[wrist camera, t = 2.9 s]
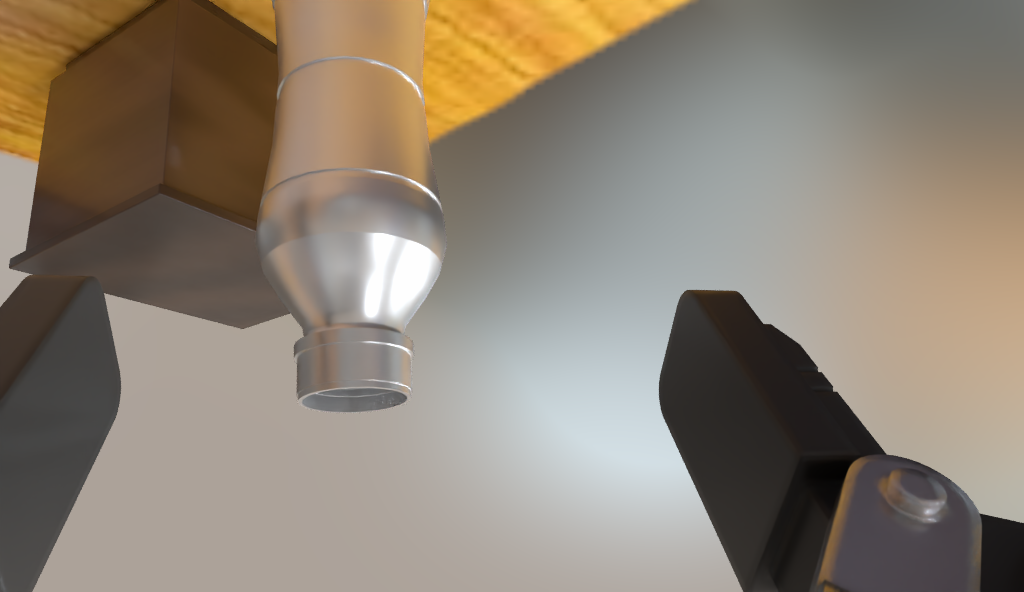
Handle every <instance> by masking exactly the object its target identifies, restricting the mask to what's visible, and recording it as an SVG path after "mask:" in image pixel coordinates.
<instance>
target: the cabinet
mask: <svg viewBox="0 0 1024 592" xmlns="http://www.w3.org/2000/svg"><path fill="white" fill-rule="evenodd" d="M278 78H279V68H278V53H277V46H276V45H275V44H273V43H272V42H270V41H269V40H267V39H266V38H264V37H263V36H261V35H260V34H258V33H257V32H255V31H254V30H252V29H251V28H249V27H248V26H246V25H245V24H243V23H242V22H240V21H239V20H237V19H236V18H234V17H232V16H231V15H229V14H228V13H226V12H225V11H223V10H222V9H220V8H219V7H217V6H216V5H214V4H213V3H211V2H210V1H208V0H160V1H158V2H157V3H155V4H154V5H152V6H151V7H150V8H148V9H147V10H145V11H144V12H142V13H141V14H139V15H138V16H137V17H135V18H134V19H132V20H131V21H129V22H128V23H126V24H125V25H124V26H122V27H121V28H119V29H118V30H116V31H115V32H113V33H112V34H111V35H109V36H108V37H106V38H105V39H103V40H102V41H100V42H99V43H98V44H96V45H95V46H93V47H92V48H90V49H89V50H87V51H86V52H85V53H83V54H82V55H80V56H79V57H77V58H76V59H74V60H73V61H71V62H70V63H69V64H67V65H66V71H65V72H64V73H62V74H61V75H59V76H58V77H56V78H55V79H53V80H52V81H51V85H50V91H49V98H48V105H47V111H46V118H45V125H44V131H43V138H42V145H41V151H40V158H39V165H38V172H37V178H36V185H35V192H34V198H33V205H32V211H31V218H30V225H29V231H28V238H27V245H26V251H24V252H23V253H20V254H18V255H16V256H15V257H13V258H11V259H10V264H9V268H10V269H14V270H18V271H21V272H25V273H29V274H33V275H59V276H93V277H95V278H97V279H98V281H99V282H100V284H101V286H102V289H103V292H104V293H106V294H110V295H114V296H118V297H122V298H126V299H129V300H133V301H137V302H141V303H145V304H148V305H153V306H156V307H160V308H164V309H168V310H172V311H176V312H179V313H183V314H187V315H191V316H195V317H198V318H202V319H206V320H210V321H214V322H218V323H222V324H225V325H229V326H234V327H237V328H241V329H244V328H247V327H250V326H253V325H257V324H259V323H263V322H265V321H269V320H271V319H275V318H278V317H281V316H284V315H287V314H290V312H289V310H288V309H287V308H286V307H285V305H284V304H283V303H282V301H281V300H280V299H279V297H278V296H277V294H276V292H275V291H274V289H273V288H272V286H271V284H270V283H269V281H268V280H267V278H266V276H265V275H264V273H263V269H262V266H261V262H260V258H259V255H258V251H257V247H256V243H255V236H256V228H257V218H258V213H259V209H260V204H261V199H262V194H263V189H264V184H265V179H266V174H267V169H268V164H269V159H270V154H271V149H272V144H273V132H274V121H275V110H276V104H277V88H278Z"/></svg>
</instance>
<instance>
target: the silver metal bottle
mask: <svg viewBox="0 0 1024 592" xmlns="http://www.w3.org/2000/svg"><path fill="white" fill-rule="evenodd" d="M429 2H430V0H272V4H273V8H274V10H275V23H276V38H277V53H278V68H279V78H278V88H277V104H276V110H275V121H274V132H273V144H272V149H271V154H270V159H269V164H268V169H267V174H266V179H265V184H264V189H263V194H262V199H261V204H260V209H259V213H258V218H257V228H256V236H255V243H256V247H257V251H258V255H259V258H260V262H261V266H262V269H263V273H264V275H265V276H266V278H267V280H268V281H269V283H270V284H271V286H272V288H273V289H274V291H275V292H276V294H277V296H278V297H279V299H280V300H281V301H282V303H283V304H284V305H285V307H286V308H287V309H288V310H289V312H290V313H291V314H292V316H293V317H294V318H295V319H296V321H297V322H298V323H299V325H300V326H301V327H302V329H303V335H304V337H302V338H300V339H299V340H298V341H297V342H296V343H295V345H294V362H295V363H296V364H297V394H296V395H297V398H298V404H299V405H300V406H302V407H304V408H307V409H310V410H315V411H321V412H333V413H361V412H372V411H380V410H386V409H391V408H395V407H398V406H401V405H404V404H406V403H407V402H409V401H410V400H411V394H412V373H411V372H412V371H411V361H412V360H413V358H414V344H413V341H412V340H411V339H410V338H409V337H407V336H405V335H404V333H405V326H406V325H407V324H408V322H409V321H410V320H411V318H412V317H413V315H414V314H415V312H416V311H417V310H418V308H419V307H420V306H421V304H422V303H423V301H424V300H425V299H426V297H427V295H428V293H429V292H430V290H431V288H432V286H433V284H434V283H435V281H436V279H437V277H438V276H439V274H440V270H441V267H442V263H443V259H444V255H445V251H446V247H447V239H446V232H445V222H444V215H443V212H442V207H441V201H440V197H439V192H438V187H437V182H436V177H435V172H434V168H433V163H432V158H431V153H430V148H429V141H428V131H427V121H426V113H425V108H424V105H425V102H424V93H423V84H422V81H423V58H424V37H425V20H426V17H427V12H428V7H429Z"/></svg>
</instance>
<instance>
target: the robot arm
mask: <svg viewBox="0 0 1024 592" xmlns="http://www.w3.org/2000/svg"><path fill="white" fill-rule="evenodd" d="M120 379H121V378H120V371H119V366H118V361H117V356H116V351H115V346H114V341H113V336H112V331H111V326H110V321H109V317H108V312H107V306H106V301H105V297H104V292H103V289H102V286H101V284H100V282H99V281H98V279H97V278H95V277H93V276H59V275H29V276H27V277H26V278H25V279H24V280H23V281H22V282H21V283H20V284H19V286H18V287H17V288H16V289H15V290H14V292H13V293H12V294H11V295H10V297H9V298H8V299H7V300H6V301H5V302H4V303H3V305H2V306H1V307H0V592H32V591H33V589H34V587H35V585H36V583H37V581H38V578H39V576H40V574H41V572H42V570H43V568H44V566H45V564H46V562H47V560H48V558H49V555H50V553H51V551H52V549H53V547H54V545H55V543H56V541H57V539H58V537H59V535H60V533H61V530H62V528H63V526H64V524H65V522H66V520H67V518H68V516H69V514H70V512H71V510H72V508H73V506H74V503H75V501H76V499H77V497H78V495H79V493H80V491H81V489H82V487H83V485H84V483H85V481H86V479H87V476H88V474H89V472H90V470H91V468H92V466H93V464H94V462H95V460H96V458H97V456H98V454H99V452H100V449H101V447H102V445H103V443H104V441H105V439H106V437H107V435H108V433H109V431H110V429H111V426H112V424H113V422H114V420H115V418H116V415H117V412H118V407H119V402H120V394H121V380H120ZM659 400H660V406H661V411H662V414H663V417H664V419H665V422H666V424H667V426H668V428H669V430H670V433H671V435H672V437H673V439H674V441H675V443H676V446H677V448H678V450H679V452H680V454H681V457H682V459H683V461H684V463H685V465H686V467H687V470H688V472H689V474H690V476H691V478H692V480H693V483H694V485H695V487H696V489H697V491H698V494H699V496H700V498H701V500H702V502H703V504H704V507H705V509H706V511H707V513H708V515H709V518H710V520H711V522H712V524H713V526H714V528H715V531H716V533H717V535H718V537H719V539H720V541H721V544H722V546H723V548H724V550H725V553H726V555H727V557H728V559H729V561H730V563H731V566H732V568H733V570H734V572H735V574H736V577H737V578H738V581H739V583H740V585H741V587H742V590H743V592H1024V523H1020V522H1016V521H1011V520H1007V519H1002V518H998V517H993V516H988V515H983V514H980V513H979V512H978V510H977V508H976V506H975V505H974V503H973V502H972V500H971V499H970V498H969V497H968V495H967V494H966V493H965V492H964V491H963V490H961V488H960V487H958V486H957V485H956V484H955V483H954V482H952V481H951V480H950V479H948V478H947V477H945V476H944V475H942V474H941V473H939V472H937V471H935V470H933V469H932V468H930V467H928V466H925V465H923V464H921V463H919V462H916V461H913V460H910V459H907V458H902V457H898V456H893V455H887V454H886V453H885V452H884V451H883V449H882V448H881V447H880V446H879V444H878V443H877V442H876V441H875V439H874V438H873V437H872V435H871V434H870V433H869V431H868V430H867V429H866V428H865V427H864V425H863V424H862V423H861V421H860V420H859V419H858V418H857V416H856V415H855V414H854V413H853V411H852V410H851V409H850V407H849V406H848V405H847V404H846V402H845V401H844V400H843V399H842V397H841V396H840V395H839V394H838V392H833V386H832V385H831V383H830V382H829V381H828V380H827V378H826V377H825V376H824V375H823V373H822V372H818V367H817V366H816V364H815V363H814V362H813V361H812V360H811V358H810V357H809V356H808V354H807V353H806V352H805V351H804V349H803V348H802V347H801V345H799V344H798V343H797V342H795V341H794V340H793V339H791V338H790V337H788V336H787V335H785V334H784V333H783V332H781V331H780V330H778V329H777V328H775V327H774V326H773V325H771V324H763V323H762V322H761V320H760V319H759V318H758V316H757V315H756V314H755V312H754V311H753V310H752V308H751V307H750V306H749V304H748V303H747V302H746V300H745V299H744V298H743V296H742V295H741V294H740V293H739V292H737V291H714V290H687V291H685V292H684V293H683V294H682V296H681V297H680V299H679V302H678V305H677V309H676V313H675V317H674V321H673V325H672V329H671V334H670V337H669V342H668V346H667V350H666V354H665V358H664V362H663V366H662V370H661V374H660V381H659Z"/></svg>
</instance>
